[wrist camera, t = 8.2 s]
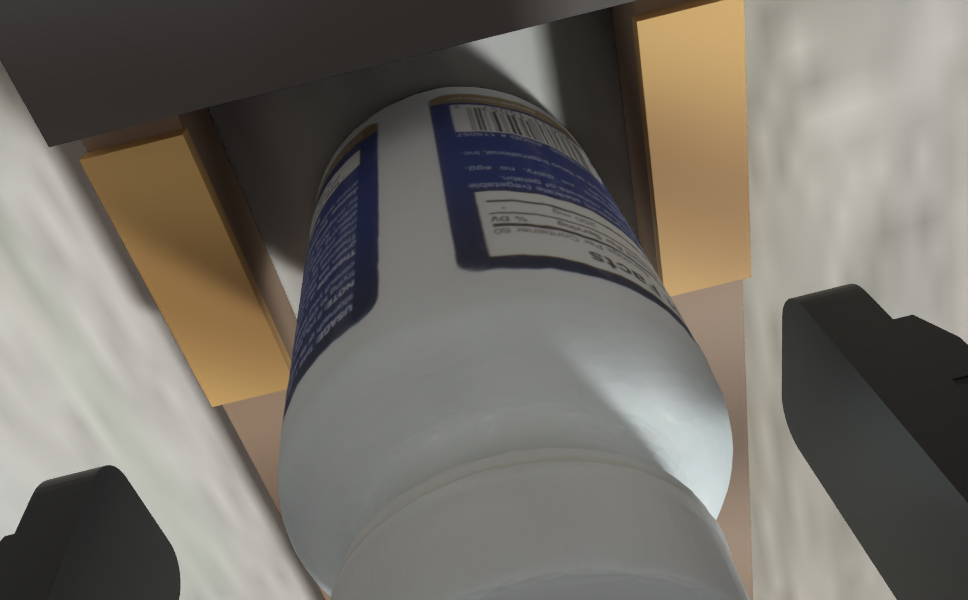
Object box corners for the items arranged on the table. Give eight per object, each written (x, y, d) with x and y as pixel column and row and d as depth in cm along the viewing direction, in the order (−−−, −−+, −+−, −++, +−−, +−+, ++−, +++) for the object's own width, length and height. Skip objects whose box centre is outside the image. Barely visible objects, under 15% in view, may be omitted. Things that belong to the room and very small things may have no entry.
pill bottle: (396, 371, 17) (414, 912, 9) (257, 158, 14) (95, 672, 6) (633, 270, 16) (890, 758, 8) (538, 25, 13) (792, 400, 5)
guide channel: (34, -38, 12) (-38, 1, 10) (691, -204, 12) (761, -203, 10) (412, 719, 24) (415, 807, 22) (737, 643, 24) (772, 725, 22)
